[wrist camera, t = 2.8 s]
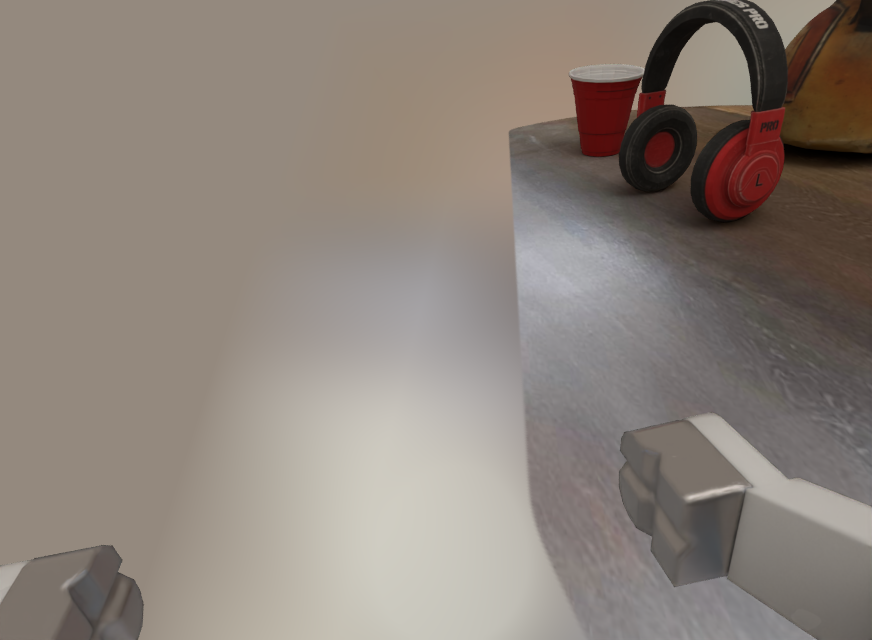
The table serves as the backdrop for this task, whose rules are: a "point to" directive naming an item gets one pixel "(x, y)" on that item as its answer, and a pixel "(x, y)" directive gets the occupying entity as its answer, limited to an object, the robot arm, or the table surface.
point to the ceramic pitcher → (831, 81)
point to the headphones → (732, 146)
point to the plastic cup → (604, 105)
